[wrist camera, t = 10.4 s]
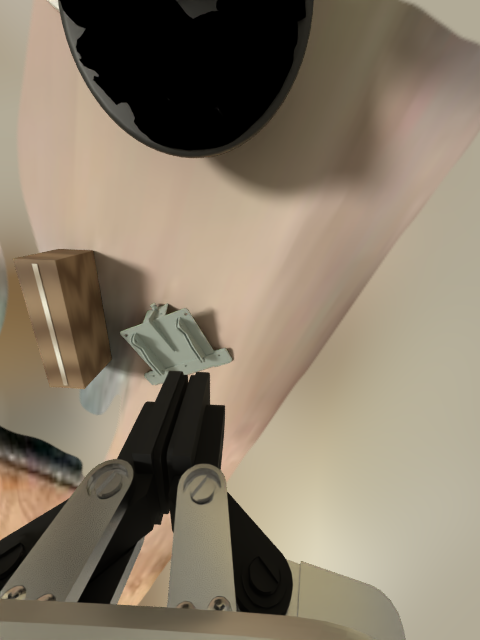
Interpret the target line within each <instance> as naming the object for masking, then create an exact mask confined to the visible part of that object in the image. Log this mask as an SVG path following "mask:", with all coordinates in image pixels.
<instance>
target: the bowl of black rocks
mask: <svg viewBox="0 0 480 640" xmlns="http://www.w3.org/2000/svg"><path fill="white" fill-rule="evenodd" d="M313 1H314V0H58V5H59V10H60V15H61V20H62V24H63V28H64V32H65V35H66V39H67V42H68V45H69V48H70V51H71V53H72V56H73V58H74V60H75V63H76V65H77V68H78V70H79V71H80V73H81V75H82V77H83V79H84V81H85V83H86V85H87V86H88V88H89V89H90V91H91V93H92V94H93V96H94V97H95V99H96V100H97V101H98V103H99V104H100V106H101V107H102V108H103V109H104V111H105V112H106V113H107V114H108V115H109V117H110V118H111V119H112V120H113V121H114V122H115V123H116V124H117V125H118V126H119V127H121V128H122V129H123V130H124V131H125V132H127V133H128V134H129V135H130V136H132V137H133V138H135V139H136V140H138V141H139V142H141V143H143V144H145V145H146V146H148V147H150V148H153V149H155V150H157V151H160V152H163V153H166V154H169V155H173V156H178V157H185V158H204V157H211V156H216V155H219V154H223V153H225V152H228V151H231V150H233V149H235V148H237V147H239V146H241V145H242V144H244V143H245V142H247V141H248V140H250V139H251V138H252V137H253V136H254V135H256V134H257V133H258V132H259V131H260V130H261V129H262V128H263V127H264V126H265V125H266V124H267V123H268V122H269V121H270V120H271V118H272V117H273V116H274V115H275V113H276V112H277V110H278V109H279V108H280V106H281V105H282V103H283V102H284V100H285V98H286V96H287V95H288V93H289V91H290V89H291V87H292V85H293V83H294V81H295V79H296V76H297V74H298V71H299V69H300V66H301V63H302V61H303V57H304V54H305V51H306V47H307V43H308V38H309V34H310V29H311V21H312V14H313Z"/></svg>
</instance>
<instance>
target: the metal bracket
mask: <svg viewBox="0 0 480 640" xmlns="http://www.w3.org/2000/svg"><path fill="white" fill-rule="evenodd" d="M150 307H152V309H153V310H149V311H147V313H146V316H145V319H144V322H143V323H142V324H140V325H137V326H134V327H131V328H128V329H126V330H123V331H121V332H120V334H121V335H122V336H123V338H124V339H125V340H126V341H127V342H128V343H129V344H130V345H131V346H132V348H133V349H134V350H135V351H136V352H137V353H138V354H139V355H140V357H141V358H142V359H143V360H144V361H145V362H146V363H147V364H148V365H149V367H150V368H151V369H152V370H153V371H151V372H148V373H145V374H144V376H145V378H146V379H147V380H148V381H149V382H150V383H151V384H152V385H158V384H161V383H164V381H165V379H166V376H167V374H168V372H169V370H170V371H183V373H184V375H188V374H191V373H194V372H197V371H200V370H204V369H207V368H210V367H213V366H214V367H217V366H221V365H224V364H227V363H230V362H231V361H232V357H231V356H230V354H229V352H228V351H227V349H226V348H222V349H219V350H216V351H215V350H213V348H212V347H211V345H210V344H209V342H208V340H207V339H206V337H205V336H204V334H203V333H202V331H201V329H200V328H199V326H198V325H197V323H196V321H195V320H194V318H193V317H192V315H191V314H190V312H189V310H188V309H187V308H184V309H181V310H178V311H176V312H173V313H170V314H167V315H166V312H167V308H168V304H165V305H164V306H163V305H162V306H160V307H157V305H155V303H153V304H151V306H150ZM184 313H187V314H188V315H185V314H184ZM125 334H127V335H128V336H125ZM185 365H187V366H185ZM153 375H154V376H153Z"/></svg>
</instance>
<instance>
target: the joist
mask: <svg viewBox="0 0 480 640" xmlns="http://www.w3.org/2000/svg"><path fill="white" fill-rule="evenodd" d="M13 261H14V265H15V268H16V272H17V275H18V278H19V282H20V285H21V289H22V292H23V296H24V299H25V303H26V306H27V310H28V313H29V317H30V320H31V323H32V327H33V330H34V333H35V337H36V341H37V344H38V348H39V351H40V355H41V358H42V361H43V365H44V369H45V372H46V375H47V379H48V382H49V386H50V387H62V388H79V389H85V388H86V387H87V386H88V384H89V383H90V382H91V381H92V380H93V379H94V378H95V377H96V376H97V375H98V374H99V373H100V372H101V371H102V369H103V368H104V367H105V366H106V365H107V364H108V363H109V362H110V361H111V360H112V357H111V351H110V346H109V340H108V334H107V328H106V322H105V317H104V311H103V305H102V299H101V293H100V287H99V282H98V276H97V270H96V264H95V258H94V253H93V251H92V250H69V249H57V250H52V251H47V252H42V253H38V254H33V255H28V256H23V257H18V258H14V259H13Z"/></svg>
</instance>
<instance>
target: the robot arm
mask: <svg viewBox="0 0 480 640" xmlns="http://www.w3.org/2000/svg"><path fill="white" fill-rule="evenodd" d="M47 1H48V2H49V3H50V4H51V5H52V6H53V7H54V8H55V9H56V10H57V11H58V12H59V13H60V10H59V5H58V0H47ZM224 425H225V405H210V373H208V372H196V374H195V375H191V376H190V380H189V383H188V375H184V373H183V371H169V372H168V374H167V376H166V379H165V381H164V383H163V385H162V388H161V390H160V392H159V394H158V396H157V399H156V401H155V402H146V403H145V404H144V406H143V408H142V410H141V412H140V414H139V416H138V418H137V420H136V422H135V424H134V426H133V428H132V430H131V432H130V434H129V436H128V438H127V440H126V442H125V444H124V446H123V448H122V450H121V452H120V454H119V456H118V458H117V459H113V460H108V461H105V462H103V463H101V464H99V465H98V466H96V467H95V468H93V469H92V470H91V471H90V472H89V473H88V474H87V476H86V477H85V478H84V479H83V481H82V482H81V483H80V485H79V486H78V488H77V489H76V490H75V492H74V493H73V494H72V496H71V497H70V498H69V499H67V500H66V501H64V502H63V503H61V504H59V505H58V506H56V507H54V508H53V509H51V510H49V511H48V512H46V513H44V514H43V515H41V516H40V517H38V518H36V519H35V520H33V521H31V522H30V523H28V524H26V525H25V526H23V527H21V528H20V529H18V530H17V531H15V532H13V533H12V534H10V535H8V536H7V537H5V538H3V539H2V540H1V541H0V640H406V639H405V634H404V629H403V625H402V622H401V619H400V616H399V614H398V612H397V610H396V608H395V607H394V605H393V604H392V602H391V600H390V599H389V598H387V596H386V595H385V594H384V593H383V592H381V591H380V590H379V589H377V588H375V587H374V586H372V585H369V584H366V583H363V582H361V581H358V580H355V579H352V578H349V577H346V576H343V575H340V574H337V573H335V572H331V571H328V570H326V569H323V568H320V567H317V566H314V565H311V564H308V563H306V562H303V561H301V563H300V564H298V563H295V562H292V561H290V560H287V559H285V557H284V556H283V554H282V553H281V552H280V551H279V550H278V549H277V547H276V546H275V545H274V544H273V543H272V542H271V541H270V539H269V538H268V537H267V536H266V535H265V534H264V533H263V532H262V530H261V529H260V528H259V527H258V526H257V525H256V524H255V522H254V521H253V520H252V519H251V518H250V517H249V516H248V515H247V513H246V512H245V511H244V510H243V509H242V508H241V507H240V505H239V504H238V503H237V502H236V501H235V500H234V499H233V498H232V496H231V495H230V494H229V493H228V492H227V487H226V480H225V476H224V475H223V473H222V472H221V460H222V450H223V439H224ZM169 511H170V514H171V523H172V531H173V533H174V535H173V547H172V558H171V571H170V581H169V593H168V604H167V607H150V606H132V605H117V603H118V601H119V599H120V596H121V594H122V592H123V589H124V587H125V585H126V582H127V580H128V578H129V575H130V573H131V571H132V568H133V566H134V564H135V561H136V559H137V557H138V554H139V552H140V550H141V547H142V545H143V541H144V537H145V535H147V534H148V533H149V532H150V531H152V530H153V527H154V524H158V525H161V521H162V517H163V514H168V513H169Z"/></svg>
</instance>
